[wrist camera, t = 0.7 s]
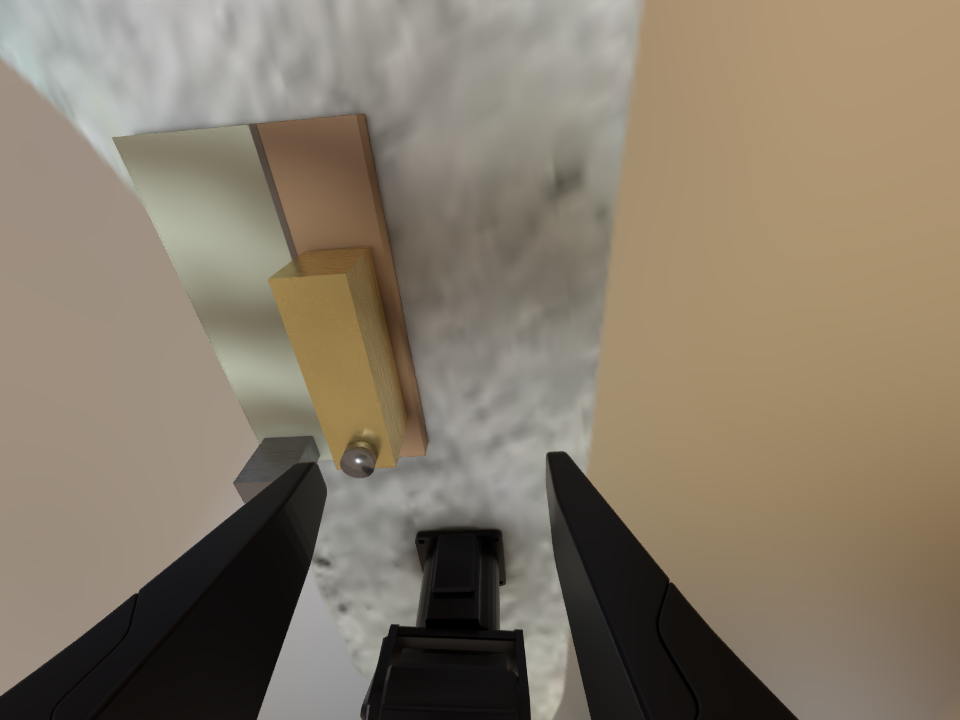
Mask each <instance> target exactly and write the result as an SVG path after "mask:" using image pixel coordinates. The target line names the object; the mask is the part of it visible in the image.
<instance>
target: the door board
mask: <svg viewBox="0 0 960 720" xmlns="http://www.w3.org/2000/svg"><path fill="white" fill-rule="evenodd" d="M112 139H113V141H114V143H115V145H116V147H117V149H118V151H119V153H120V155H121V158H122V160H123V162H124V164H125V166H126V168H127V170H128V172H129V174H130V176H131V178H132V180H133V182H134V185H135V187H136V189H137V191H138V193H139V195H140V197H141V199H142V201H143V203H144V205H145V207H146V210H147V212H148V214H149V216H150V218H151V220H152V222H153V224H154V226H155V228H156V230H157V232H158V235H159V237H160V239H161V241H162V243H163V245H164V247H165V249H166V251H167V253H168V255H169V257H170V259H171V261H172V264H173V266H174V268H175V270H176V272H177V274H178V276H179V278H180V280H181V282H182V284H183V286H184V289H185V291H186V293H187V295H188V297H189V299H190V301H191V303H192V305H193V307H194V309H195V311H196V314H197V316H198V318H199V320H200V322H201V324H202V326H203V328H204V330H205V332H206V334H207V336H208V339H209V341H210V343H211V345H212V347H213V349H214V351H215V353H216V355H217V357H218V359H219V361H220V363H221V366H222V368H223V370H224V372H225V374H226V376H227V378H228V380H229V382H230V384H231V386H232V388H233V391H234V393H235V395H236V397H237V399H238V401H239V403H240V405H241V407H242V409H243V411H244V413H245V415H246V418H247V420H248V422H249V424H250V426H251V428H252V430H253V432H254V434H255V436H256V438H257V440H258V443H259V445H260V444H261V442H262V441H263V439H264V438H273V437H296V436H313V437H314V440H315V443H316V445H317V448H318V451H319V453H320V457H319V459H318V460H333V458H332V455H331V452H330V449H329V447H328V444H327V441H326V438H325V436H324V433H323V430H322V427H321V425H320V422H319V419H318V416H317V414H316V411H315V408H314V405H313V403H312V400H311V397H310V394H309V392H308V389H307V386H306V384H305V381H304V378H303V375H302V373H301V370H300V367H299V364H298V362H297V359H296V356H295V353H294V351H293V348H292V345H291V342H290V340H289V337H288V334H287V331H286V329H285V326H284V323H283V320H282V318H281V315H280V312H279V310H278V307H277V304H276V301H275V299H274V296H273V293H272V290H271V288H270V285H269V282H268V278H270V277H271V276H272V275H274V274H275V273H276V272H278V271H279V270H280V269H282V268H283V267H284V266H286V265H287V264H288V263H289V262H291V261H292V260H293V259H295V258H296V257H297V256H299V255H300V254H301V253H303V252H304V251H318V250H331V249H345V248H359V247H370V250H371V255H372V260H373V264H374V269H375V273H376V278H377V282H378V287H379V291H380V296H381V300H382V305H383V310H384V314H385V319H386V323H387V328H388V332H389V337H390V341H391V346H392V350H393V355H394V360H395V364H396V369H397V373H398V378H399V382H400V387H401V391H402V396H403V400H404V405H405V410H406V414H407V419H408V424H407V428H406V431H405V435H404V439H403V442H402V446H401V450H400V454H399V457H410V456H425V455H426V450H427V445H428V440H427V435H426V429H425V424H424V419H423V414H422V409H421V404H420V399H419V393H418V388H417V383H416V378H415V373H414V368H413V363H412V357H411V352H410V347H409V342H408V337H407V332H406V326H405V321H404V316H403V311H402V306H401V301H400V296H399V290H398V285H397V280H396V275H395V270H394V265H393V260H392V254H391V249H390V244H389V239H388V234H387V229H386V223H385V218H384V213H383V208H382V203H381V198H380V193H379V187H378V182H377V177H376V172H375V167H374V162H373V156H372V151H371V146H370V141H369V136H368V131H367V126H366V120H365V115H364V114H355V115H344V116H333V117H323V118H312V119H302V120H291V121H281V122H270V123H259V124H249V125H238V126H228V127H217V128H207V129H196V130H185V131H175V132H164V133H154V134H143V135H132V136H122V137H112Z"/></svg>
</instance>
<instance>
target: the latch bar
mask: <svg viewBox="0 0 960 720" xmlns="http://www.w3.org/2000/svg"><path fill="white" fill-rule="evenodd" d="M268 282H269V285H270V288H271V290H272V293H273V296H274V299H275V301H276V304H277V307H278V310H279V312H280V315H281V318H282V320H283V323H284V326H285V329H286V331H287V334H288V337H289V340H290V342H291V345H292V348H293V351H294V353H295V356H296V359H297V362H298V364H299V367H300V370H301V373H302V375H303V378H304V381H305V384H306V386H307V389H308V392H309V394H310V397H311V400H312V403H313V405H314V408H315V411H316V414H317V416H318V419H319V422H320V425H321V427H322V430H323V433H324V436H325V438H326V441H327V444H328V447H329V449H330V452H331V455H332V458H333V460H334V463H335V466H336V468H337V470H339V469H342V470H343V471H344V472H345V473H346V474H348V475H349V476H352V477H356V478H364V477H368V476H369V475H371V474H372V473H373V471H374V468H390V467H396V465H397V461H398V457H399V454H400V450H401V446H402V442H403V439H404V435H405V431H406V428H407V424H408V419H407V414H406V410H405V405H404V400H403V396H402V391H401V387H400V382H399V378H398V373H397V369H396V364H395V360H394V355H393V350H392V346H391V341H390V337H389V332H388V328H387V323H386V319H385V314H384V310H383V305H382V300H381V296H380V291H379V287H378V282H377V278H376V273H375V269H374V264H373V260H372V255H371V250H370V247H359V248H345V249H331V250H318V251H304V252H303V253H301V254H300V255H299V256H297V257H296V258H295V259H293V260H292V261H291V262H289V263H288V264H287V265H286V266H284V267H283V268H282V269H280V270H279V271H278V272H276V273H275V274H274V275H272V276H271V277H270V278H268Z"/></svg>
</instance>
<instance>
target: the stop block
mask: <svg viewBox="0 0 960 720" xmlns="http://www.w3.org/2000/svg"><path fill="white" fill-rule="evenodd" d="M319 457H320V453H319V451H318V448H317V445H316V443H315V440H314V437H313V436H296V437H273V438H264V439H263V441H262V442H261V444H260V445H259V446H258V448H257V449H256V451H255V452H254V454H253V455H252V457H251V458H250V459H249V461H248V462H247V464H246V465H245V467H244V468H243V470H242V471H241V472H240V474H239V475H238V477H237V478H236V480H235V481H234V483H233V484H234V486H235V487H236V489H237V491H238V493H239V495H240V496H241V498H242V500H243V502H244V503H247V502H248V501H250V500H251V499H252V498H253V497H255V496H256V495H257V494H258V493H259V492H261V491H262V490H263V489H264V488H266V487H267V486H268V485H269V484H271V483H272V482H273V481H274V480H275V479H277V478H278V477H279V476H280V475H282V474H283V473H284V472H285V471H287V470H288V469H289V468H290V467H291V466H293V465H294V464H296V463H298V462H315V463H317V461H318V459H319Z"/></svg>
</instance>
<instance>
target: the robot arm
mask: <svg viewBox="0 0 960 720" xmlns="http://www.w3.org/2000/svg"><path fill="white" fill-rule="evenodd" d="M546 488H547V497H548V507H549V516H550V525H551V534H552V544H553V551H554V558H555V563H556V568H557V572H558V576H559V581H560V585H561V589H562V594H563V598H564V603H565V607H566V611H567V616H568V620H569V624H570V629H571V633H572V638H573V642H574V646H575V650H576V655H577V659H578V664H579V668H580V672H581V676H582V681H583V686H584V690H585V694H586V698H587V703H588V707H589V712H590V716H591V720H798V718H797V717H796V716H795V715H794V714H793V713H792V712H791V711H790V710H789V709H788V708H787V707H786V706H785V705H784V704H783V703H782V702H781V701H780V700H779V699H778V698H777V697H776V696H775V695H774V694H773V693H772V692H771V691H770V690H769V689H768V688H767V686H765V684H764V683H763V682H762V681H761V680H760V679H759V678H758V677H757V676H756V675H755V674H754V673H753V672H752V671H751V670H750V669H749V668H748V667H747V666H746V665H745V664H744V663H743V662H742V661H741V660H740V659H739V658H738V657H737V656H736V655H735V653H734V652H733V651H732V650H731V649H730V648H729V647H728V646H727V645H726V644H725V643H724V642H723V641H722V640H721V639H720V637H718V635H717V634H716V633H715V632H714V631H713V630H712V629H711V628H710V627H709V625H708V624H707V623H706V622H705V621H704V620H703V618H702V617H701V616H700V615H699V614H698V613H697V611H696V610H695V609H694V608H693V607H692V606H691V604H690V603H689V602H688V601H687V600H686V598H685V597H684V596H683V595H682V593H681V592H680V591H679V590H678V588H677V587H676V586H675V585H674V584H673V583H672V582H670V583H669V581H670V580H669V578H668V576H667V575H666V574H665V573H664V572H663V570H662V569H661V568H660V567H659V566H658V564H657V563H656V562H655V561H654V559H653V558H652V557H651V556H650V554H649V553H648V552H647V551H646V550H645V548H644V547H643V546H642V545H641V543H640V542H639V541H638V540H637V539H636V537H635V536H634V535H633V534H632V532H631V531H630V530H629V529H628V528H627V526H626V525H625V524H624V523H623V521H622V520H621V519H620V518H619V516H618V515H617V514H616V513H615V512H614V510H613V509H612V508H611V507H610V505H609V504H608V503H607V502H606V501H605V499H604V498H603V497H602V496H601V494H600V493H599V492H598V491H597V489H596V488H595V487H594V486H593V485H592V483H591V482H590V481H589V480H588V478H587V477H586V476H585V475H584V474H583V472H582V471H581V470H580V469H579V467H578V466H577V465H576V464H575V462H574V461H573V460H572V459H571V458H570V456H569V455H568V454H567V453H566V452H564V451H558V452H548V453H547V455H546ZM326 497H327V487H326V484H325V482H324V479H323V476H322V474H321V471H320V469H319V466H318V464H317V463H315V462H298V463H296V464H294V465H293V466H291V467H290V468H289V469H288V470H287V471H285V472H284V473H283V474H282V475H280V476H279V477H278V478H277V479H275V480H274V481H273V482H272V483H271V484H269V485H268V486H267V487H266V488H264V489H263V490H262V491H261V492H259V493H258V494H257V495H256V496H255V497H253V498H252V499H251V500H250V501H248V502H247V503H246V504H245V505H244V506H242V507H241V508H240V509H239V510H237V511H236V512H235V513H234V514H232V515H231V516H230V517H229V518H228V519H226V520H225V521H224V522H223V523H221V524H220V525H219V526H218V527H216V528H215V529H214V530H213V531H211V532H210V533H209V534H208V535H206V536H205V537H204V538H203V539H202V540H200V541H199V542H198V543H197V544H195V545H194V546H193V547H192V548H190V549H189V550H188V551H187V552H186V553H184V554H183V555H182V556H181V557H179V558H178V559H177V560H176V561H174V562H173V563H172V564H171V565H170V566H169V567H167V568H166V569H165V570H163V571H162V572H161V573H160V574H159V575H157V576H156V577H155V578H154V579H153V580H151V581H150V582H149V583H147V584H146V585H145V586H144V587H143V588H141V589H140V590H139V593H136V594H134V595H132V596H131V597H130V598H129V599H127V600H126V601H125V602H124V603H123V604H121V605H120V606H119V607H118V608H116V609H115V610H114V611H113V612H111V613H110V614H109V615H108V616H106V617H105V618H104V619H103V620H101V621H100V622H99V623H97V624H96V625H95V626H94V627H92V628H91V629H90V630H89V631H87V632H86V633H85V634H84V635H82V636H81V637H80V638H78V639H77V640H76V641H75V642H73V643H72V644H70V645H69V646H68V647H67V648H65V649H64V650H63V651H61V652H60V653H58V654H57V655H56V656H54V657H53V658H52V659H50V660H49V661H48V662H46V663H45V664H44V665H42V666H41V667H40V668H38V669H37V670H36V671H34V672H33V673H31V674H30V675H29V676H27V677H26V678H25V679H23V680H22V681H21V682H19V683H18V684H16V685H15V686H14V687H13V688H11V689H10V690H8V691H7V692H6V693H4V694H3V695H1V696H0V720H257V717H258V714H259V711H260V708H261V705H262V702H263V700H264V696H265V694H266V691H267V688H268V685H269V682H270V679H271V677H272V674H273V671H274V668H275V665H276V662H277V659H278V656H279V654H280V651H281V648H282V645H283V642H284V639H285V636H286V633H287V631H288V628H289V625H290V622H291V619H292V616H293V613H294V610H295V607H296V605H297V602H298V599H299V596H300V593H301V590H302V587H303V584H304V582H305V579H306V576H307V573H308V570H309V567H310V564H311V560H312V556H313V553H314V548H315V544H316V540H317V536H318V531H319V527H320V523H321V518H322V514H323V510H324V506H325V501H326ZM415 544H416V547H417V551H418V555H419V559H420V563H421V567H422V571H423V580H422V587H421V593H420V600H419V607H418V614H417V620H416V627H409V626H399V624H391V626H390V629H389V633H388V636H387V637H385V638H383V641H382V646H381V651H380V656H379V660H378V664H377V668H376V671H375V673H374V676H373V679H372V681H371V684H370V686H369V689H368V691H367V694H366V697H365V699H364V702H363V704H362V708H361V715H360V716H361V719H362V720H531V712H530V696H529V686H528V676H527V667H526V657H525V648H524V638H523V630H520V629H514V631H505V630H500V598H499V586H503V585H505V584H506V575H505V563H504V551H503V538H502V533H501V532H499V531H467V532H432V533H418V534H417V535H416V539H415Z"/></svg>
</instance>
